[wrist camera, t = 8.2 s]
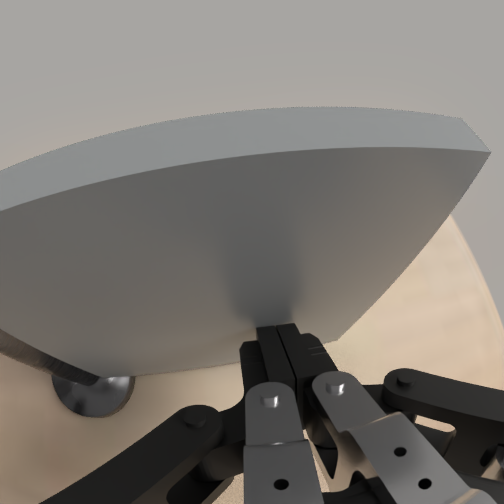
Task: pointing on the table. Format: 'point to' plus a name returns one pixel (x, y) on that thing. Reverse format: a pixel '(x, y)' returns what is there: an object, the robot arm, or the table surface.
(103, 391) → the hinge post
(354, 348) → the table surface
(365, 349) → the table surface
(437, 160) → the door
